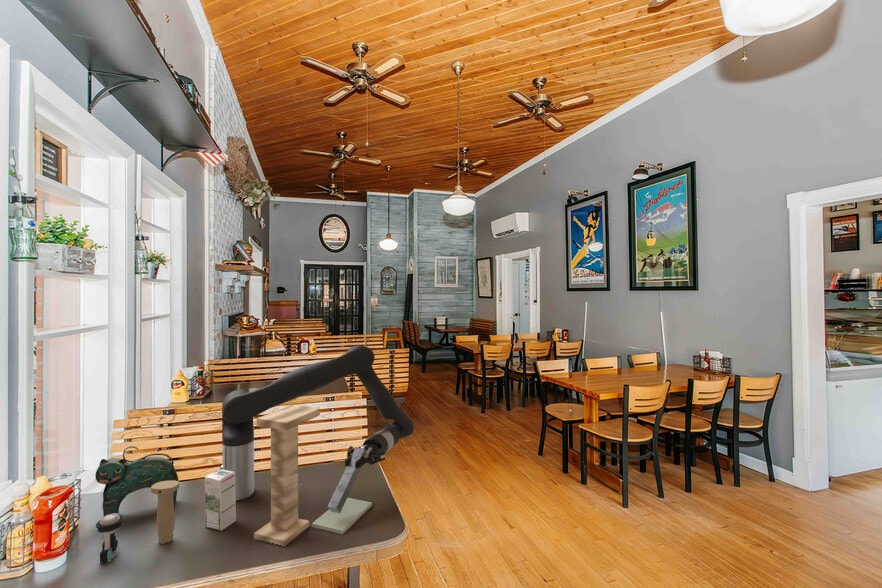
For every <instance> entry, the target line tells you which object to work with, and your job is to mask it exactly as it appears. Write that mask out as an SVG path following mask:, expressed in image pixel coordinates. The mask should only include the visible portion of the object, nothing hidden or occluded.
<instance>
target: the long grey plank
mask: <svg viewBox="0 0 882 588" xmlns="http://www.w3.org/2000/svg"><path fill="white" fill-rule="evenodd" d="M354 449H355V451H354V453H353V455H352V458H351V460H350V462H349V464H348V466H347V467H346V466H345V469H344V471H343V474H342V476H341V478H340V480H339V482H338V484H337V485H336V488H335V490H334V491H333V494H332V496H331V498H330V500H329V501H328V505H327V508H328V510H329V509H330V511H331V512H336V513H341V510H342V508H343V506H344V504H345V502H346V500H347V498H349V495H350V493H351V490H352V489H353V487H354V484H355V483H356V480H357V479H358V478H357V477H358V476H359V473H360V471H361V469H362V467H363V466H361V467H359V468H358V469H356V468H355V462H356V461H357V460H358V459H360V458H361V457H363V456H364V455H365V454H366V450H365V449H364V448H358V447H357V446H356V447H355V448H354Z"/></svg>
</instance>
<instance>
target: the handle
mask: <svg viewBox="0 0 882 588" xmlns="http://www.w3.org/2000/svg"><path fill="white" fill-rule="evenodd" d="M180 482H181V481H179V480H178V481H174V480H171V481H162V482H158V483H155V484H154V485H152V486H151V488H150V492H151V493H152V494H155V495H156V496H157V509H156V510H157V512H156V532H157V542H158V543H160V544H161V545H164V544H167V543H171V541H173V539H174V535H175V534H174V531H175V523H176V522H175V521H176V520H175V517H176V516H175V507H174V505H175V504H173V492H174V491H176V490H177V491H178V489H180V485H181V484H180Z"/></svg>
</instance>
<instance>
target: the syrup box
mask: <svg viewBox="0 0 882 588" xmlns="http://www.w3.org/2000/svg"><path fill="white" fill-rule="evenodd" d="M204 500H205V501H204V509H205V510H204V512H205V515H204V517H205V518H204V521H205V523H204V524H205V525H204V526H205V528H207V529H212V530H216V531H224V529H227V527H230V526H231V525H232V524H233V523H235V522H236V520H237V511H236V509H237V506H236V502H237V501H236V494H235V472H233V471H227V470H222V469H220V468H219V469H218V470H214V471H212V472H211V473H209V474H207V475H206V476H204Z"/></svg>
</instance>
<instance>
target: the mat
mask: <svg viewBox="0 0 882 588" xmlns="http://www.w3.org/2000/svg"><path fill="white" fill-rule="evenodd" d="M372 506H373V502H369V501H366V500H361V499H357V498H351V497H347V500H346V502H345V504H344V506H343V508H342V510H341V513H336V512H331V511H330V509H329V508H328V510H326V511H325V512H324V513H323V514H321V515H320V516H319V517H318V518H317V519H316V520H314V521H313V522H312V523H311V527H312V528H314V529H319V530H323V531H328V532H331V533H335V534H339V535H344V533H346V532H347V531H348V530H349V529H350V528H351V527H352V526H353V525H354V524H355V523H356V522H357V521H358V520H359V519H360V518H361V517H362V516H363V515H364V514H366V512H367V511H368V510H369V509H370V508H371V507H372Z"/></svg>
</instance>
